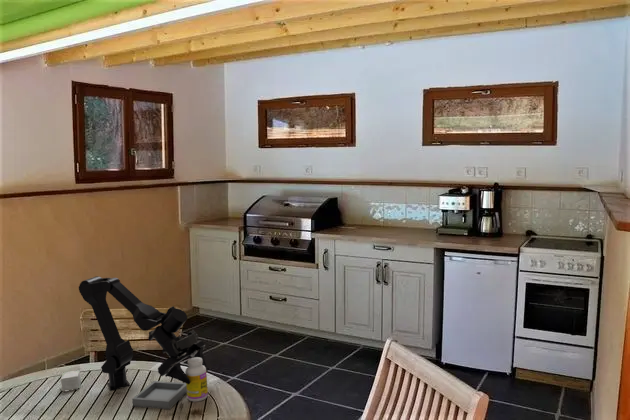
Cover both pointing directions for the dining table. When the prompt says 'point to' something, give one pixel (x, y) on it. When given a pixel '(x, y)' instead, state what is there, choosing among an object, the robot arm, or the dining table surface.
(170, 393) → the tray
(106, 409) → the dining table surface
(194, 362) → the supplement bottle
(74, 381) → the small box
